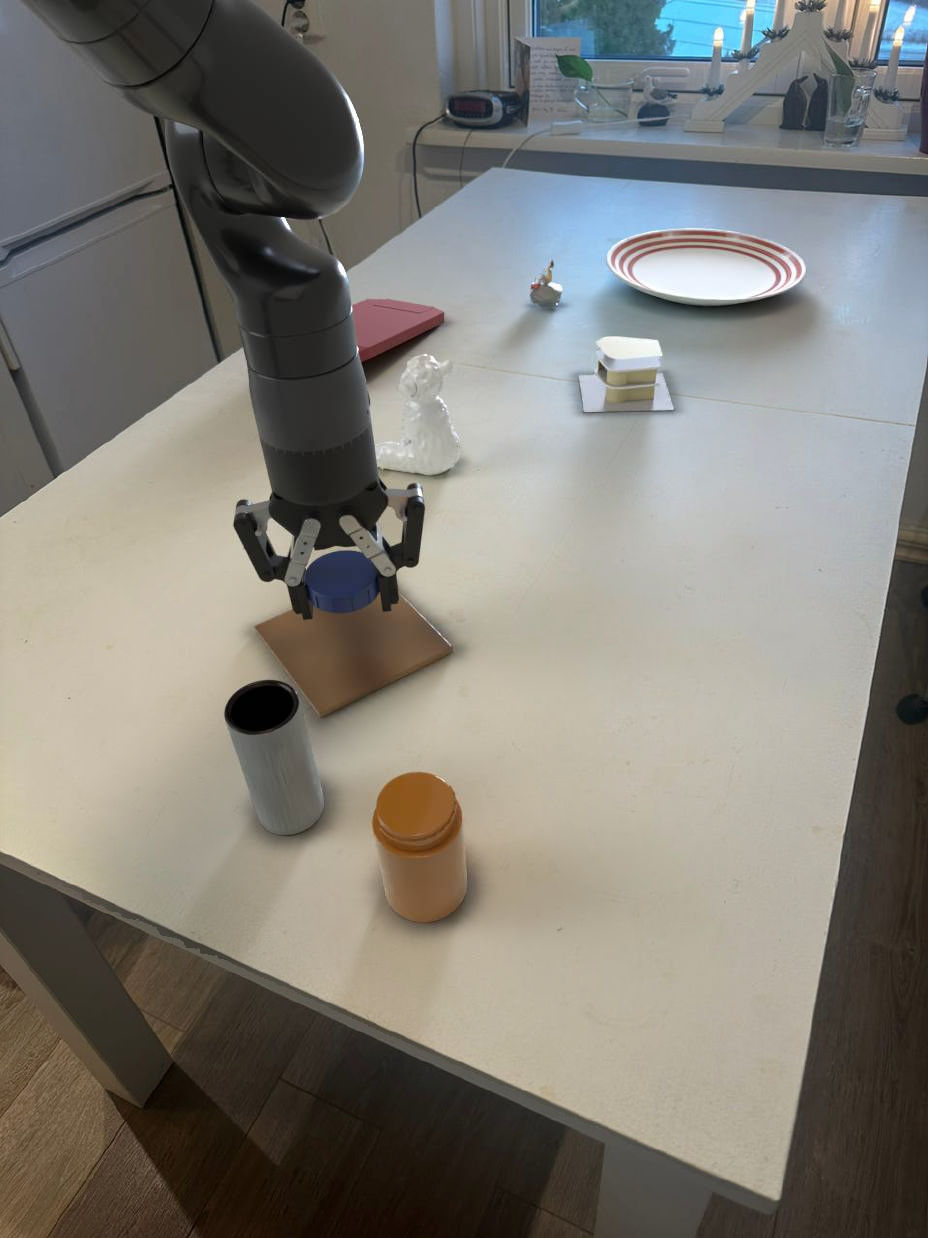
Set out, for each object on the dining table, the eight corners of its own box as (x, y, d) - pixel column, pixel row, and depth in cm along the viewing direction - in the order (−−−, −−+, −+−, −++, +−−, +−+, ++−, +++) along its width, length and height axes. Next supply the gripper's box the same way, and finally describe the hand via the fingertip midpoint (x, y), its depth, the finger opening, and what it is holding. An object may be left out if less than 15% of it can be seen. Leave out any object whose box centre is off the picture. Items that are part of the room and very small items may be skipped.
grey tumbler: (326, 830, 58) (300, 727, 51) (257, 841, 58) (222, 739, 51) (323, 776, 61) (298, 673, 54) (258, 787, 61) (224, 684, 54)
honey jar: (402, 936, 52) (388, 856, 46) (372, 867, 56) (356, 785, 50) (481, 902, 54) (476, 820, 48) (447, 837, 57) (439, 754, 51)
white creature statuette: (431, 429, 97) (424, 324, 89) (487, 457, 92) (484, 348, 84) (366, 464, 92) (351, 356, 84) (421, 494, 87) (411, 383, 79)
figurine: (563, 311, 119) (565, 266, 115) (531, 313, 119) (531, 268, 115) (559, 296, 123) (560, 252, 119) (528, 297, 123) (528, 254, 119)
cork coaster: (320, 718, 65) (318, 713, 65) (255, 631, 73) (253, 625, 73) (453, 652, 70) (453, 646, 70) (379, 576, 78) (378, 571, 77)
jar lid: (393, 576, 69) (390, 559, 68) (358, 621, 65) (355, 603, 64) (331, 560, 71) (328, 543, 70) (294, 603, 67) (290, 585, 66)
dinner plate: (783, 247, 133) (788, 224, 131) (821, 321, 113) (827, 295, 111) (602, 249, 136) (603, 226, 134) (607, 321, 116) (608, 297, 114)
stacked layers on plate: (662, 373, 104) (667, 328, 101) (673, 410, 98) (679, 364, 94) (578, 375, 105) (580, 331, 101) (584, 412, 98) (586, 366, 94)
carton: (374, 331, 125) (263, 381, 106) (373, 296, 122) (259, 340, 104) (448, 345, 121) (346, 400, 102) (449, 309, 118) (344, 358, 99)
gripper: (197, 458, 55) (253, 651, 66) (425, 436, 55) (442, 631, 67) (211, 401, 60) (260, 588, 72) (417, 382, 61) (434, 570, 72)
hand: (348, 608), depth 69 cm, fingers closed on jar lid, 5 cm apart
